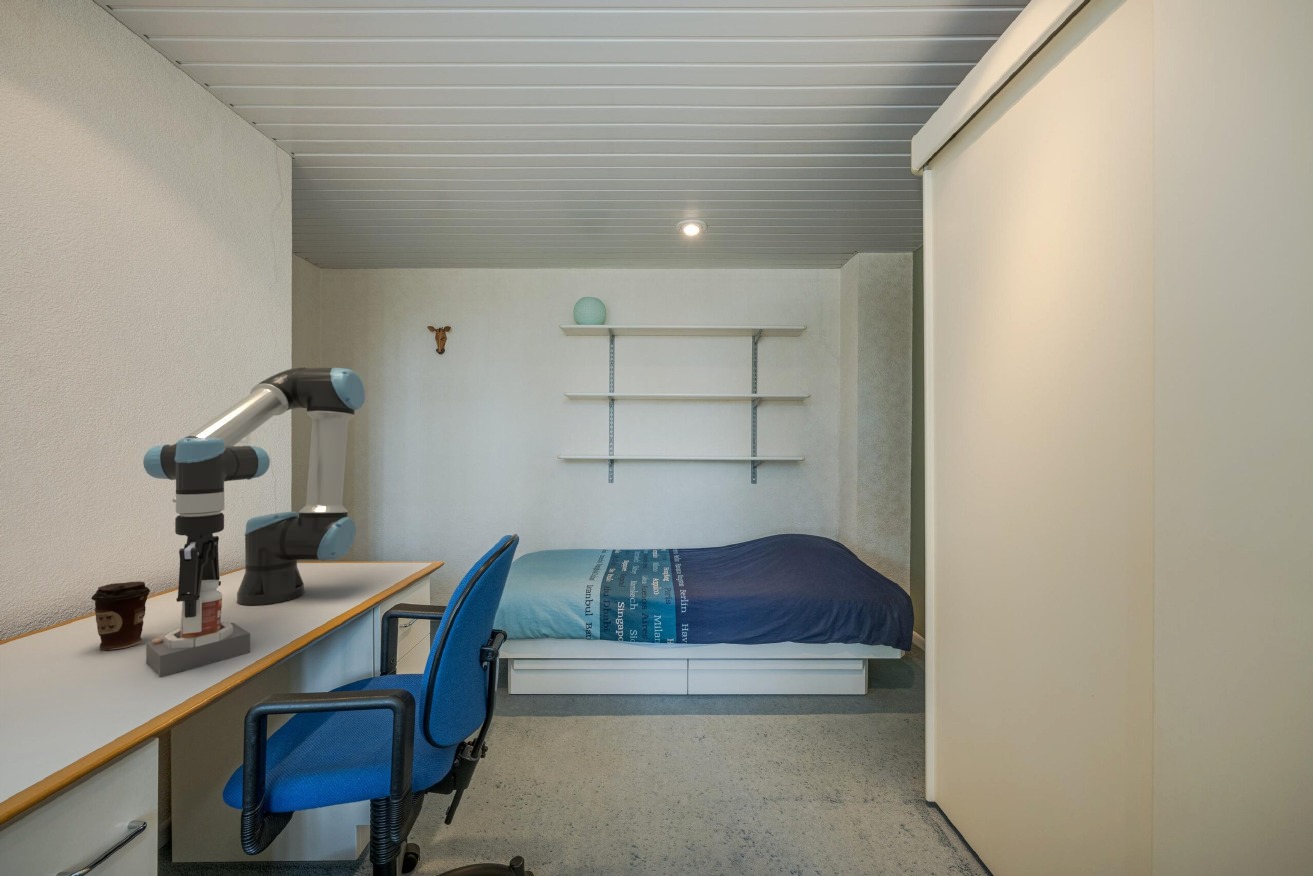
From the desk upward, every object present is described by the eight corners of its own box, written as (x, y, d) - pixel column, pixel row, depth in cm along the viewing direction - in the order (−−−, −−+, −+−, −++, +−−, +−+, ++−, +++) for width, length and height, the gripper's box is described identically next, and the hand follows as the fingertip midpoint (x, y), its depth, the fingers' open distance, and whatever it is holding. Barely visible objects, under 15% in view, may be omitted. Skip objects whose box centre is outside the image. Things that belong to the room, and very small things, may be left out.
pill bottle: (224, 636, 108) (228, 581, 109) (185, 644, 103) (190, 586, 104) (213, 630, 112) (217, 577, 112) (175, 637, 106) (179, 582, 107)
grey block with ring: (233, 641, 116) (233, 616, 116) (250, 652, 110) (250, 626, 110) (146, 663, 104) (146, 635, 104) (159, 677, 99) (160, 647, 99)
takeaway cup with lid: (110, 655, 108) (110, 592, 108) (79, 651, 109) (80, 589, 109) (158, 639, 116) (158, 580, 116) (129, 636, 118) (129, 578, 118)
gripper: (195, 507, 115) (195, 612, 115) (153, 522, 96) (153, 647, 96) (238, 506, 118) (237, 607, 118) (205, 520, 99) (205, 640, 100)
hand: (199, 625), depth 107 cm, fingers open, 7 cm apart
